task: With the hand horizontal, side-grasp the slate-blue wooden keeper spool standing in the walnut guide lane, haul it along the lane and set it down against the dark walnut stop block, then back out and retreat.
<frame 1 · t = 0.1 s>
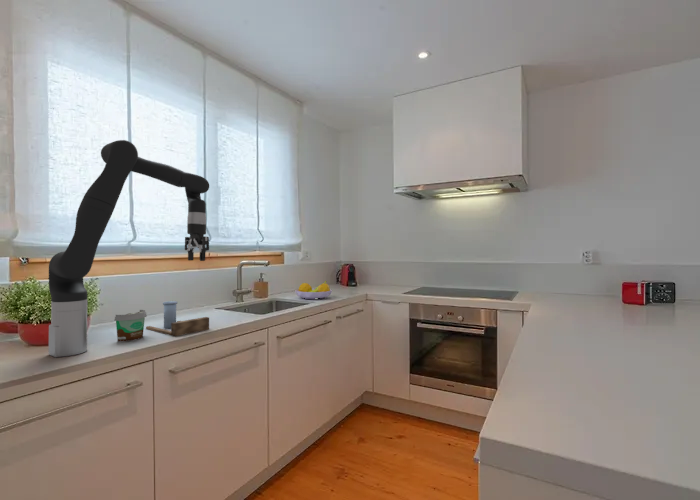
hand: (196, 260, 152), 29 cm above the counter, tool pointing down, fingers open, 8 cm apart
food container: (134, 339, 133), on the counter
keeper: (169, 327, 152), on the counter
channel: (177, 329, 149), on the counter
fruit bowl: (314, 298, 247), on the counter
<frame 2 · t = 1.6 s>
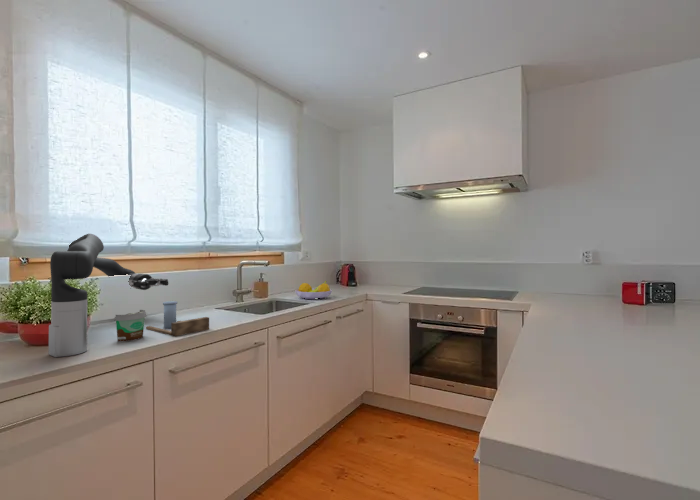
hand: (157, 283, 158), 18 cm above the counter, tool horizontal, fingers open, 8 cm apart
nothing on the counter moved.
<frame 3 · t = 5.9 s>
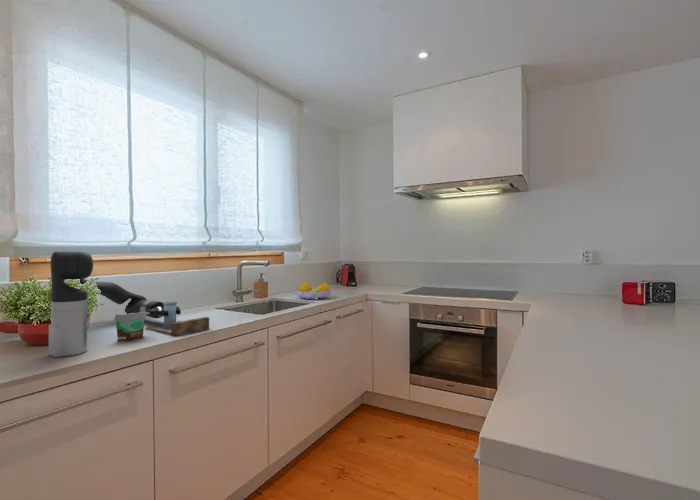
hand: (173, 313, 151), 7 cm above the counter, tool horizontal, fingers closed on keeper, 4 cm apart
keeper: (170, 327, 152), on the counter, touching gripper
everything else where it was.
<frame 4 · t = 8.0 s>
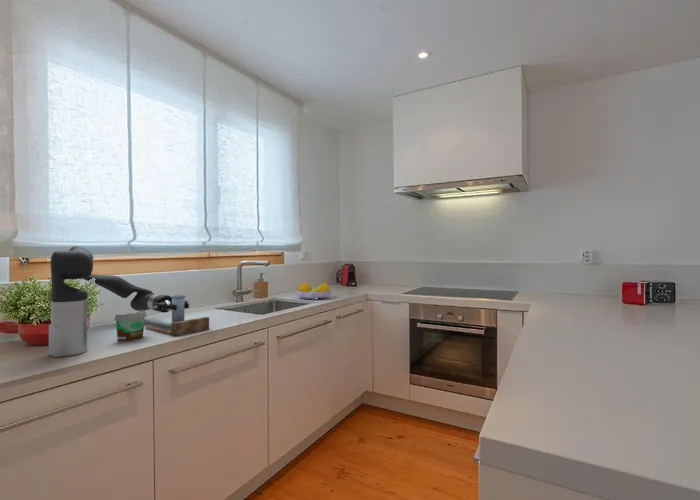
hand: (181, 306, 147), 10 cm above the counter, tool horizontal, fingers closed on keeper, 4 cm apart
keeper: (178, 321, 148), point 3 cm above the counter, touching gripper
everything else where it was.
when the fingers open (7 cm above the counter, at t = 10.2 s): keeper stays where it is, on the counter.
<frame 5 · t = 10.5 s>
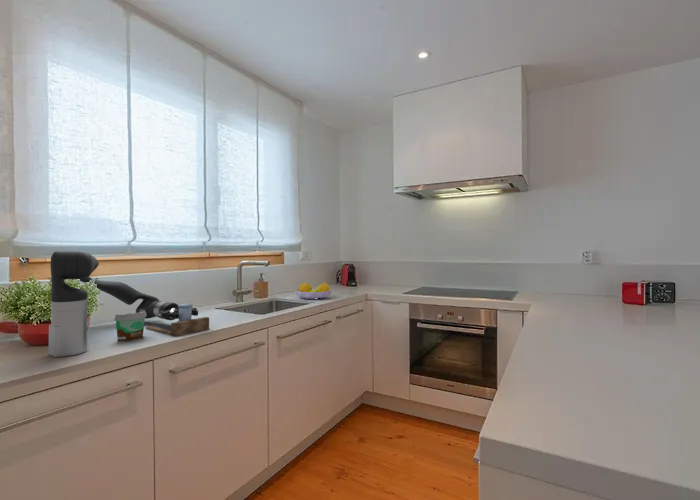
hand: (188, 314, 144), 7 cm above the counter, tool horizontal, fingers open, 8 cm apart
keeper: (185, 330, 146), on the counter
everything else where it was.
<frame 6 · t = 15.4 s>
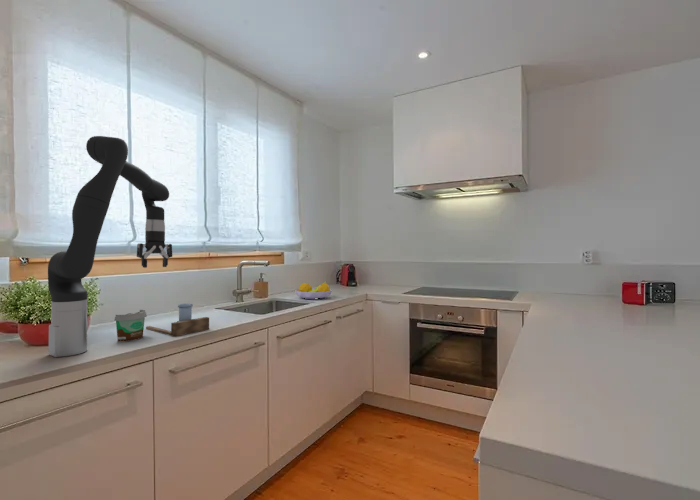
hand: (155, 267, 153), 26 cm above the counter, tool pointing down, fingers open, 8 cm apart
nothing on the counter moved.
at the end: keeper inside the target area (0.4 cm from its centre), on the counter; keeper tilted 0°; the gripper is holding nothing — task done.
